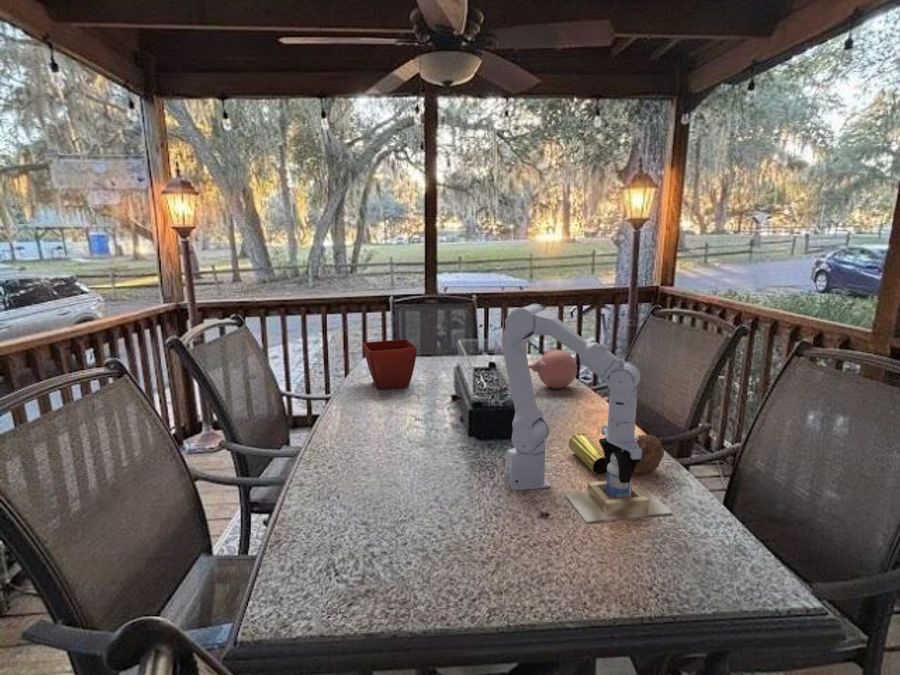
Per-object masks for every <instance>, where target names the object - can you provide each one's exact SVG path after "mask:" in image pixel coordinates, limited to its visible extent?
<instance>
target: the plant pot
mask: <svg viewBox="0 0 900 675" xmlns="http://www.w3.org/2000/svg"><path fill="white" fill-rule="evenodd" d="M362 344H363V345H362V346H363V351H364V355H365V360H366V363H367V368H368V371H369V373H370V376H371V379H372V382H373V384H374V385H375V387H376V389H378V390H387V389H398V388H407V387H409V386H410V383H411V381H412V378H413V373H414V369H415V364H416V359H417V350H418V347H417V346H416V345H415V344H413V342H411V341H410V340H409V339H404V338H403V339H393V340H391V339H390V340H380V341H379V340H378V341H367V342H363V343H362Z"/></svg>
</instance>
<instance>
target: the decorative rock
mask: <svg viewBox="0 0 900 675" xmlns="http://www.w3.org/2000/svg"><path fill="white" fill-rule="evenodd" d="M635 435H636V436H638V437H639V440H638V441H636V442H637V444H638V447H639V448H640V449H641V450H642V455H643V457H642V459H641V460H640V462H639V463H638V464H637V466H636V468H635V470H634V472H633V475H634V474H635V475H636V476H637V475H644V474H645V473H647V474H652V473H655V471H656V470H657V469H658V467H659V465H660V463H661V461H662V459H663V457H664V455H665V451H664V447H663V445H662V442H661V441H660V440H659V439H658V438H657V437H656V436H654V435H651V434H641V435H637V434H635ZM623 450H624V449H622V450H621V452H623Z"/></svg>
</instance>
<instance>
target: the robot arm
mask: <svg viewBox="0 0 900 675" xmlns="http://www.w3.org/2000/svg"><path fill="white" fill-rule="evenodd" d="M504 323H505V326H504V330H503V334H502V337H501V349H502V353H503V357H504V358H503V359H504V363H505V364H504V365H505V367H506V372H507V377H508V382H509V387H510V391H511V398H512V403H513V407H514V412H515V413H514V416H513V417H514V418H513V420H512V424H511V425H512V434H511V443H512V445H513V447H512V448H509V449H506V450H505V468H504V469H505V470H504V471H505V472H504V473H505V474H504V477H505V479H506V481H507V483H508V485H509V486H510V488H511V490H512V491H516V492H517V491H524V490H534V489H535V490H536V489H545V488H546V489H547V488H551V484H550V482H548V481H547V478H545V476H546V475H545V474H546V445H545V444H546V443H545V442H546V441H545V440H546V439H547V438H548V437H549V435H550V426H549V424H548V422H547V421H546V420H545V418H544V415H543V412H542V410H540V409H539V408H538V406H537V405H538V404H537V401H536V394H535V390H534V385H533V381H532V376H531V371H530V370H531V369H530V368H529V365H530V364H529V360H528V355H527V350H526V344H527V343H528V342H529V340H530V339H531V338H532V336H550V337H551V338H553V339H555V340H556V341H558V342H559V343H560V344H562V345H564V346H565V347H566V348H568V349H570V350H571V351H573V352H574V353H576V354H578V357H579V361H580V364H582V366H584V367H586V368H587V369H588V370H589V371H591V372H592V373H594V375H597V376H598V377H600V379H602V380H603V381H605V382H606V385H607V387H608V389H609V397H608V411H607V412H608V414H607V425H602V426H601V431H600V432H601V435H602V436H604V438H599V439H598V443H599V445H600V447H601V449H602V452H603V453H604V456H605V461H606V466H607V465H608V464H609V463H610V462H611V460H610V459H611V454H612V453H614V455H615V457H616V459H617V462H618V468H619V480H620V482H621V483H629V482H630V481H631V478H632V479H633V475H634V474H633V472H634V470H635V468H636V466H637V464H638V463H639V462H640V460H641V459H642V457H643V455H642V450H641V449H640V448H639V447H638V444H637V442H636V441H638V440H639V437H638V436H636V435H637V434H635V432H636V420H637V418H636V416H637V404H638V399H637V395H638V393H637V391H638V388H637V386H638V384H639V383H640V380H641V372H640V369H638V367H637V366H636V365H635V364H634V363H633V362H631V361H630V362H629V361H626V360H625V359H624V358H622V357H621V358H619V357H617V356H616V355H615V354H613V353H612V352H610V351H609V350H608V349H607V348H608V346H607V345H606V344H605V343H601V344H600V343H599V342H596V341H595V342H588V341H587V340H585V338H583V337H582V336H580V334H578V333H577V332H575V331H574V330H573V329H572V328H571V327H570V326H568V325H566V324H565V323H564V322H563V321H562V320H560V319H559V318H558V317H557V316H556V315H555V314H554V313H553V312H552V311H551V310H549V309H545V307H544V306H542V305H541V304H538V303H532V304H529V305H527V306H524V307H518V308H515V309H513V310H512V311H511V312H510V313H509V315H507V317H506V318H505V319H504ZM622 449H624V450H623V452H621V450H622Z"/></svg>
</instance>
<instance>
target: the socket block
mask: <svg viewBox="0 0 900 675" xmlns="http://www.w3.org/2000/svg"><path fill="white" fill-rule="evenodd" d="M606 486H607V480H602V481H600V480H599V481H591V482H587V491H582V492H581V491H580V492H572V493H570V492H569V493H564V496H565V497H566V499H567V500H568V502H569V503H570V504H571V506H572V507H573V508H574V509H575V511H576V512H577V513H578V514H579V516H580V517H581V519H582V520H583V521H584V522H585V524H591V523H592V524H594V523H602V522H610V521H612V522H613V521H619V520H621V521H622V520H630V519H638V518H641V519H642V518H649V517H657V516H658V517H659V516H669V515H673V511H671V510H670V509H669V508H668V507H667V506H666V505H665V504H664V503H663V502H661V500H659V499H658V497H656V496H655V495H653V494H652V493H651V492H650V491H649V490H648V489H647V488H646V487H645V486H635V485H634V484H633V483H632V490H631V498H622V499H611V498H609V497H608V496H607V494H606Z"/></svg>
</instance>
